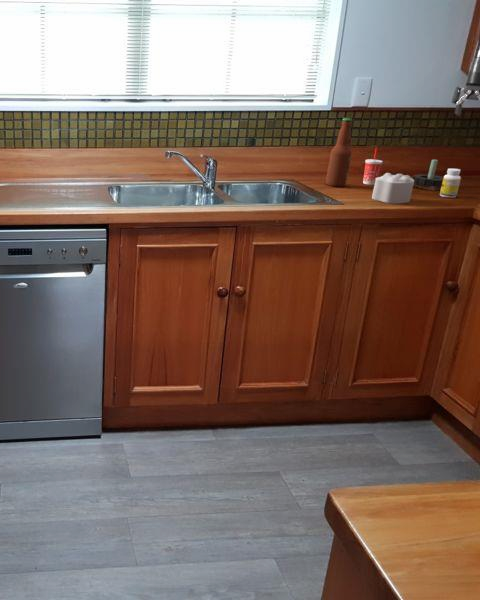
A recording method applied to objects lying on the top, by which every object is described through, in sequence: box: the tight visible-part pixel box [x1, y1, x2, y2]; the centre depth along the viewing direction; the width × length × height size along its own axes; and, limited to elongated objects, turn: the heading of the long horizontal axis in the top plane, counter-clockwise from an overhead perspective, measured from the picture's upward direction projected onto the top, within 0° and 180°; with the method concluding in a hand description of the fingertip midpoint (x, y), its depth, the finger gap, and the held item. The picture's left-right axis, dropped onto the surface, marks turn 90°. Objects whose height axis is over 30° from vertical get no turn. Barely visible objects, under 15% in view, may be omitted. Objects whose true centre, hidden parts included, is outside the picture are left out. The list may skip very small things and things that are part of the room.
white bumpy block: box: [371, 172, 414, 204], centre depth 213 cm, size 10×13×9 cm
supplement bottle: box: [439, 168, 462, 199], centre depth 219 cm, size 5×5×10 cm
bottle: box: [325, 117, 353, 188], centre depth 231 cm, size 7×7×25 cm
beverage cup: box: [362, 147, 384, 186], centre depth 237 cm, size 6×6×14 cm
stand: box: [413, 159, 441, 192], centre depth 233 cm, size 9×9×10 cm
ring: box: [412, 173, 444, 187], centre depth 234 cm, size 11×11×2 cm
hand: (469, 116), depth 229 cm, fingers open, 8 cm apart
